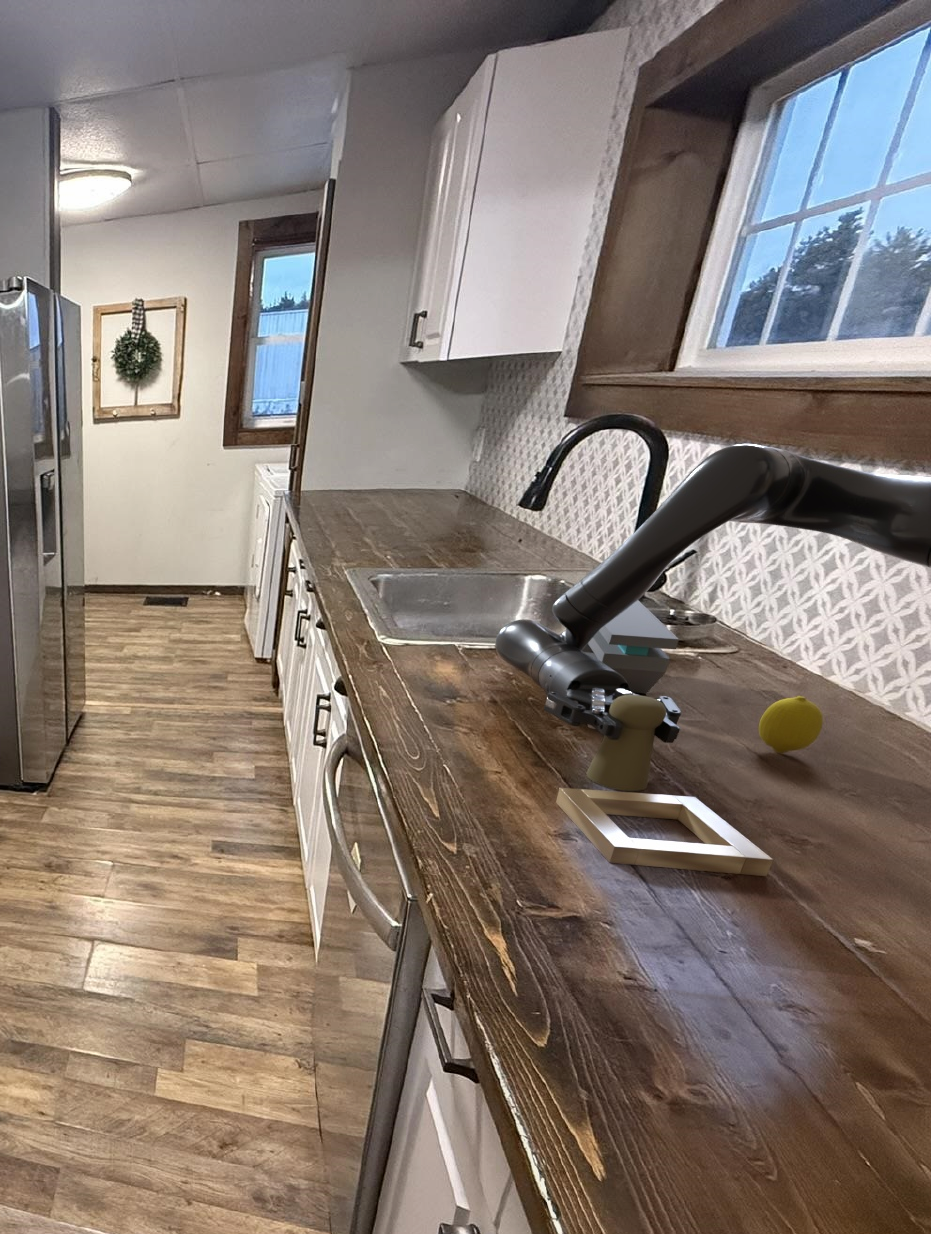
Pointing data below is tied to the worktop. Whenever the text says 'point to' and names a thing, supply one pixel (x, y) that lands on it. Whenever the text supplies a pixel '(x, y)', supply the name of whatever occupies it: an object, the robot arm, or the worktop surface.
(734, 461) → the robot arm
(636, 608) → the grey slotted holder
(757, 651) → the worktop surface
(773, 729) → the lemon
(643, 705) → the cork
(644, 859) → the wooden frame
